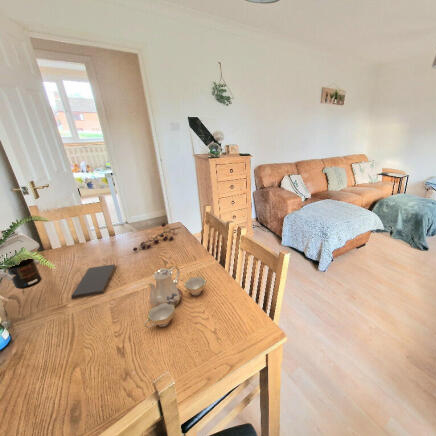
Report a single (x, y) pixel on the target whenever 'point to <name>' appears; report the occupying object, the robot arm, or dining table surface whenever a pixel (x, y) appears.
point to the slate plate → (94, 281)
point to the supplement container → (25, 274)
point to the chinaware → (169, 295)
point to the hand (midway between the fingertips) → (25, 270)
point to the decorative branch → (157, 238)
